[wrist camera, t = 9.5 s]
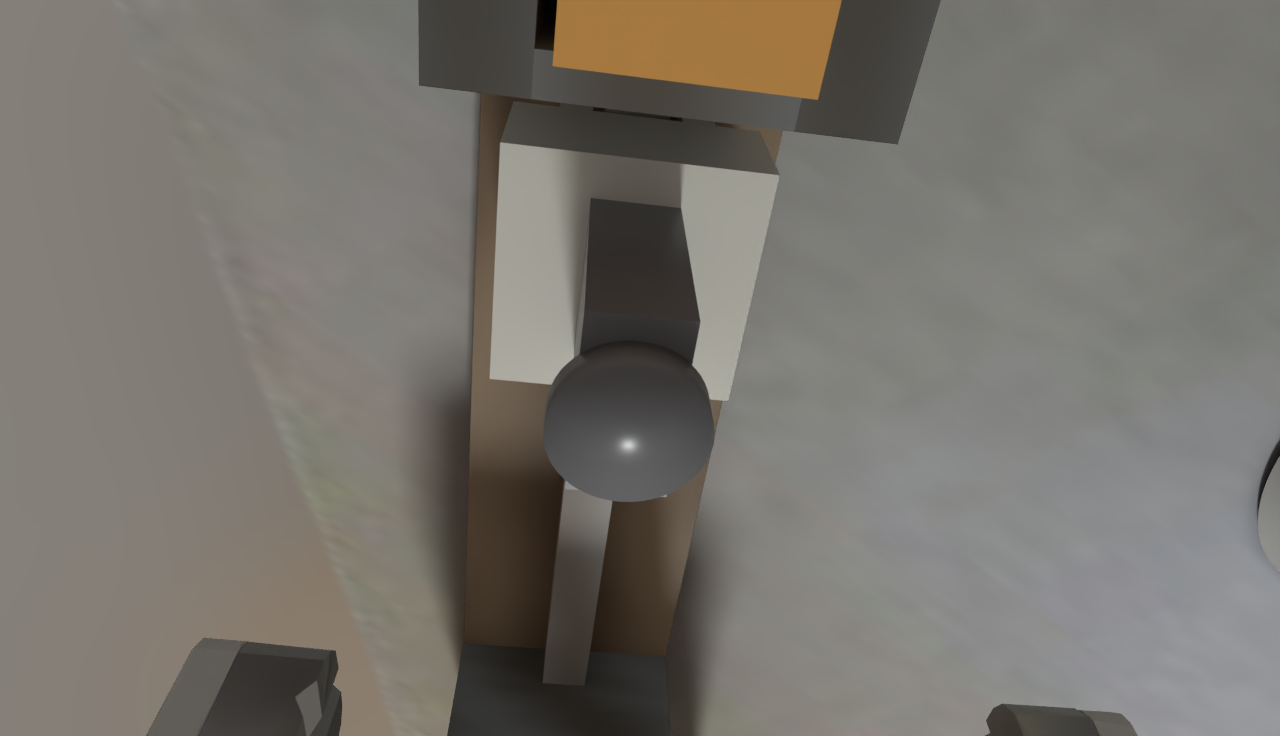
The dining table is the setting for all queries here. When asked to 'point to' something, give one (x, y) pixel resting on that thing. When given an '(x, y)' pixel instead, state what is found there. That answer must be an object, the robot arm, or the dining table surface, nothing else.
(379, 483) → the dining table surface
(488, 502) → the rail frame
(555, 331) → the carriage
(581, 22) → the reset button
